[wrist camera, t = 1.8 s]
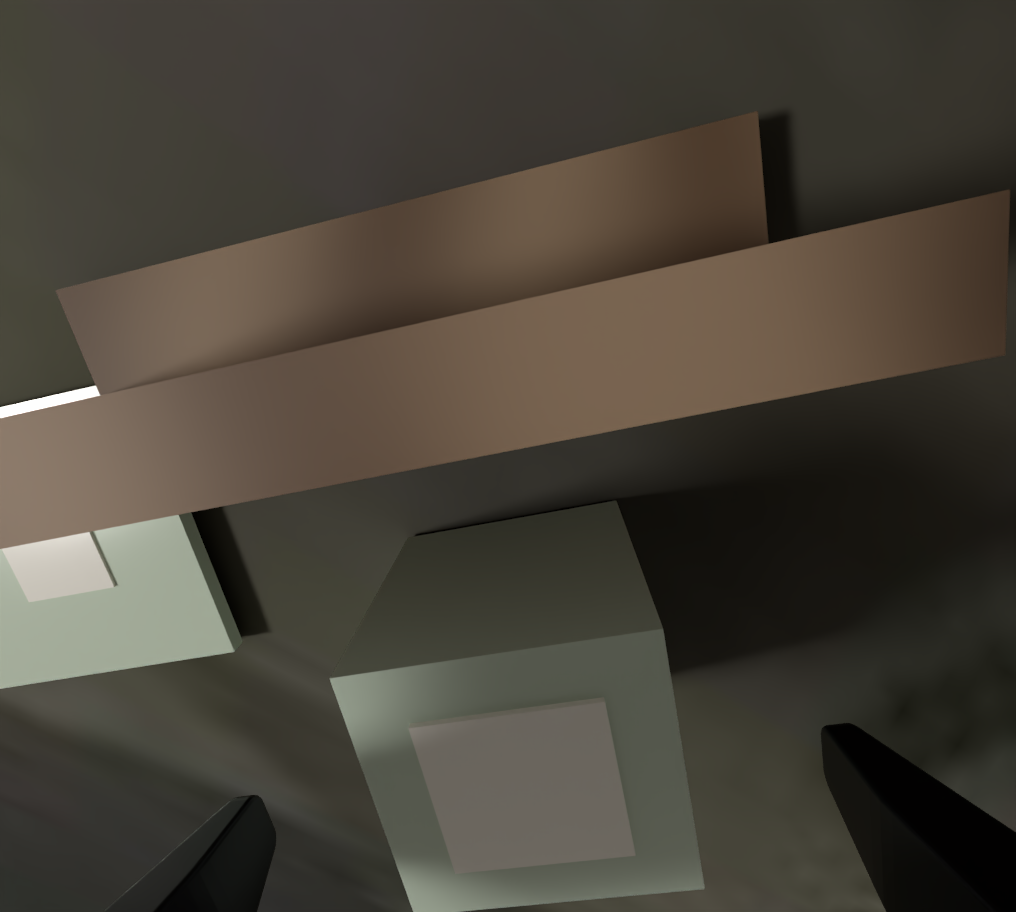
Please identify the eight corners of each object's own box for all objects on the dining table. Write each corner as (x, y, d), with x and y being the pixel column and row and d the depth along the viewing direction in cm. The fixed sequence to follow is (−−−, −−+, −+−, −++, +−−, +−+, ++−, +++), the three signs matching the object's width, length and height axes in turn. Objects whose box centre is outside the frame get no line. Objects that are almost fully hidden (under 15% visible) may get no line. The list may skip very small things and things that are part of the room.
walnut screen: (745, 121, 10) (1020, -118, 4) (764, 337, 11) (1004, 380, 5) (79, 290, 12) (-372, 283, 6) (150, 464, 13) (-174, 601, 7)
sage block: (616, 500, 12) (664, 632, 7) (648, 685, 14) (706, 899, 9) (408, 537, 13) (326, 683, 8) (458, 711, 14) (415, 926, 9)
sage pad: (136, 376, 12) (121, 379, 12) (243, 642, 14) (233, 653, 14) (-125, 436, 13) (-148, 441, 13) (8, 679, 15) (-8, 691, 14)
